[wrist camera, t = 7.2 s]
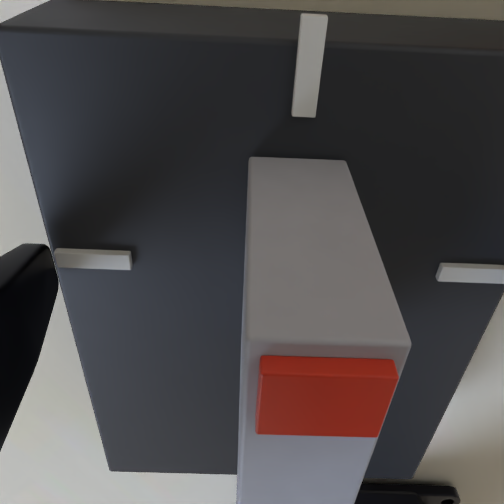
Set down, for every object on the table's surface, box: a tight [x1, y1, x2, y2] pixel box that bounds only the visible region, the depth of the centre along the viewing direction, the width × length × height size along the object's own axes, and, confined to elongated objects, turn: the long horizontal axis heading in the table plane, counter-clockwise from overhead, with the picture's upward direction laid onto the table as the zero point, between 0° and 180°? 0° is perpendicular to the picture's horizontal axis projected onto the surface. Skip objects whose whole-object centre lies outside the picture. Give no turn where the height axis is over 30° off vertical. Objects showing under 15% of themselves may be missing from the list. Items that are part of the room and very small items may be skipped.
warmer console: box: [0, 0, 504, 479], centre depth 11 cm, size 12×9×3 cm
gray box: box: [236, 157, 411, 504], centre depth 7 cm, size 4×2×4 cm, turn 178°
